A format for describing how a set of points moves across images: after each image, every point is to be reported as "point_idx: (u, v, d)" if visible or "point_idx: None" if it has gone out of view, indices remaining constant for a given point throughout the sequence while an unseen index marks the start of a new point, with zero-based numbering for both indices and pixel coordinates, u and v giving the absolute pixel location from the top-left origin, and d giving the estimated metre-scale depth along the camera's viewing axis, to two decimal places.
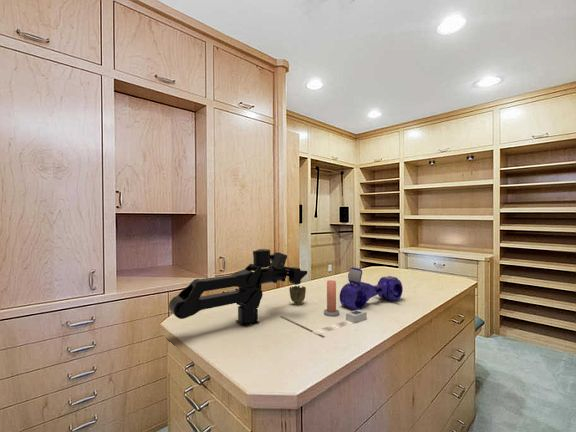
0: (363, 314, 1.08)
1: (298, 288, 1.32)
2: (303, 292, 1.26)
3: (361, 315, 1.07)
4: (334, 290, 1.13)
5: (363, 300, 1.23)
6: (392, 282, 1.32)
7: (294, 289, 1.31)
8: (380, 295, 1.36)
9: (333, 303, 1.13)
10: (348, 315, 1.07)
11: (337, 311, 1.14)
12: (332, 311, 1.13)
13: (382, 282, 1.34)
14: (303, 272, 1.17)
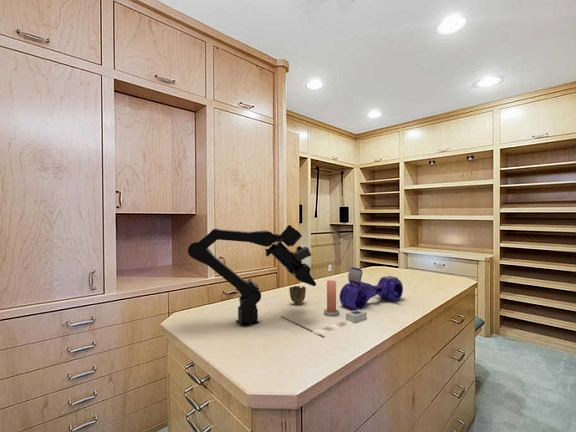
0: (363, 314, 1.08)
1: (298, 288, 1.32)
2: (303, 292, 1.26)
3: (361, 315, 1.07)
4: (334, 290, 1.13)
5: (363, 300, 1.23)
6: (392, 282, 1.32)
7: (294, 289, 1.31)
8: (380, 295, 1.36)
9: (333, 303, 1.13)
10: (348, 315, 1.07)
11: (337, 311, 1.14)
12: (332, 311, 1.13)
13: (382, 282, 1.34)
14: (311, 280, 1.07)
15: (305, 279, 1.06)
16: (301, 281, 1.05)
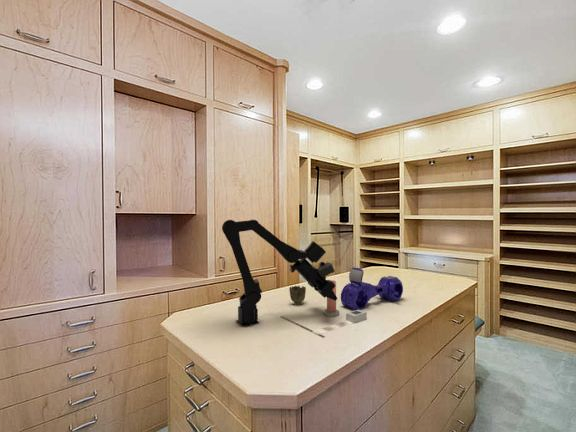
0: (363, 314, 1.08)
1: (298, 288, 1.32)
2: (303, 292, 1.26)
3: (361, 315, 1.07)
4: (334, 290, 1.13)
5: (364, 300, 1.23)
6: (393, 282, 1.33)
7: (294, 289, 1.31)
8: (381, 295, 1.36)
9: (333, 303, 1.13)
10: (348, 315, 1.07)
11: (337, 311, 1.14)
12: (332, 311, 1.13)
13: (382, 282, 1.34)
14: (333, 294, 1.11)
15: (327, 294, 1.11)
16: None
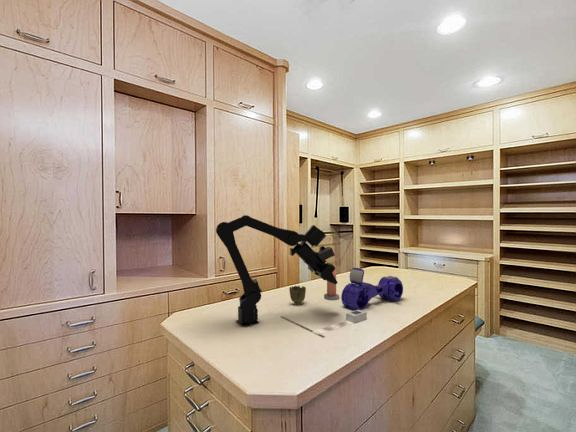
0: (363, 314, 1.08)
1: (298, 288, 1.32)
2: (303, 292, 1.26)
3: (361, 315, 1.07)
4: (334, 274, 1.13)
5: (365, 300, 1.23)
6: (393, 282, 1.33)
7: (294, 289, 1.31)
8: (381, 295, 1.36)
9: (333, 286, 1.13)
10: (348, 315, 1.07)
11: (337, 295, 1.14)
12: (332, 295, 1.13)
13: (383, 282, 1.34)
14: (333, 278, 1.11)
15: (327, 277, 1.10)
16: None
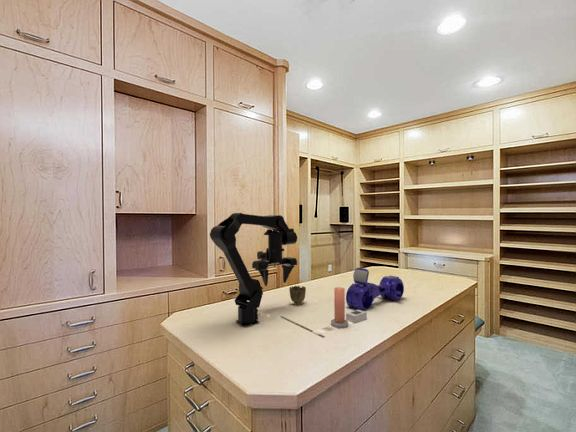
0: (363, 314, 1.08)
1: (298, 288, 1.32)
2: (303, 292, 1.26)
3: (361, 315, 1.07)
4: (341, 298, 1.01)
5: (369, 300, 1.22)
6: (395, 281, 1.33)
7: (294, 289, 1.31)
8: (382, 295, 1.37)
9: (340, 312, 1.01)
10: (348, 315, 1.07)
11: (345, 323, 1.01)
12: (339, 322, 1.01)
13: (384, 281, 1.34)
14: None
15: None
16: (292, 268, 1.20)
